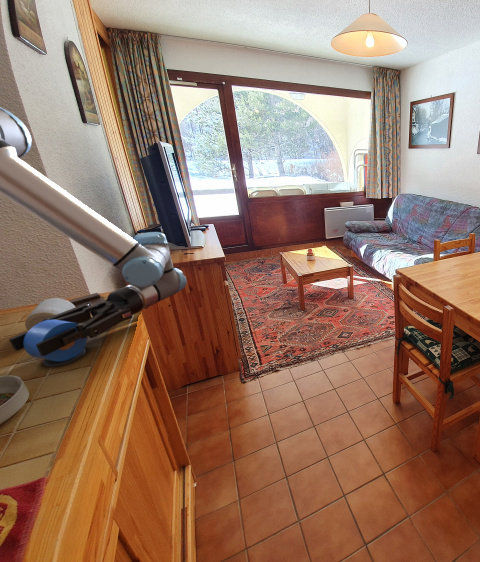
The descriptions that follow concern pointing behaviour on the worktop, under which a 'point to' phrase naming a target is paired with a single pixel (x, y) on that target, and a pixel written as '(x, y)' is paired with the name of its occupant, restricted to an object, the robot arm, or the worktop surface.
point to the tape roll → (47, 331)
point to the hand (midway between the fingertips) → (26, 347)
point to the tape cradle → (87, 299)
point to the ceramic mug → (48, 310)
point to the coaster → (60, 363)
